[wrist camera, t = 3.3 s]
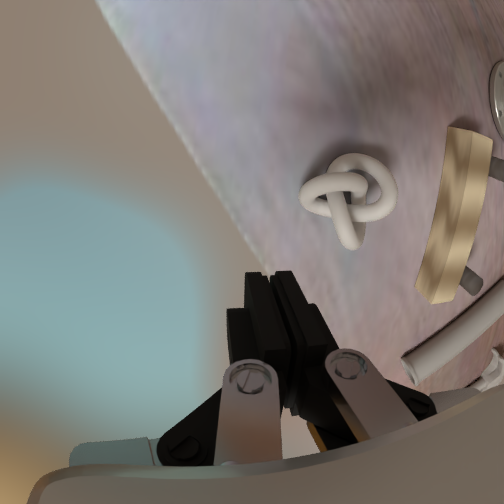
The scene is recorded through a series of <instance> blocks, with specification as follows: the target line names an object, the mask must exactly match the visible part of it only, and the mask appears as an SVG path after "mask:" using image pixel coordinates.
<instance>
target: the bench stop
mask: <svg viewBox="0 0 504 504" xmlns="http://www.w3.org/2000/svg"><path fill="white" fill-rule="evenodd" d="M492 144H493V140H492V139H490V138H488V137H485V136H483V135H481V134H478V133H476V132H474V131H469V130H465V129H459V128H454V127H448V130H447V141H446V149H445V157H444V165H443V172H442V178H441V184H440V189H439V195H438V200H437V205H436V210H435V214H434V219H433V223H432V227H431V231H430V235H429V239H428V243H427V247H426V251H425V254H424V258H423V261H422V265H421V268H420V271H419V274H418V278H417V281H416V284H415V288H416V289H417V290H418V291H419V292H420V293H421V294H422V295H423V296H424V297H425V298H426V299H427V300H428V301H429V302H430V303H431V304H437V303H443V302H448V301H453V298H454V296H455V293H456V291H457V288H458V286H459V284H460V285H461V286H462V287H463V288H464V289H465V290H466V291H467V292H469V293H470V294H471V295H472V296H475V295H476V294H477V293H478V292H479V291H480V290H481V288H482V286H483V279H482V278H481V277H479V276H478V275H477V274H476V273H474V272H473V271H472V270H471V269H469V268H468V267H467V266H466V263H467V260H468V257H469V254H470V251H471V247H472V244H473V241H474V237H475V233H476V230H477V226H478V222H479V218H480V214H481V210H482V205H483V201H484V196H485V191H486V186H487V180H488V176H490V177H493V178H495V179H498V180H500V181H502V182H504V160H502V159H499V158H496V157H493V156H491V153H492Z"/></svg>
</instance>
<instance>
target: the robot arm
mask: <svg viewBox="0 0 504 504" xmlns="http://www.w3.org/2000/svg"><path fill="white" fill-rule="evenodd" d="M490 103H491V109H492V114H493V118H494V122H495V124H496V127H497V130H498V132H499V134H500V136H501V137H502V139H503V141H504V61H500V62H498V63H497V64H496V65H495V66H494V68H493V70H492V73H491V77H490ZM244 293H245V294H244V308H230V309H227V340H228V350H229V360H230V366H229V367H228V368H227V370H226V371H225V374H224V376H223V385H222V388H221V389H220V390H218V391H217V392H216V393H215V394H213V395H212V396H211V397H210V398H209V399H207V400H206V401H205V402H204V403H203V404H201V405H200V406H199V407H198V408H196V409H195V410H194V411H193V412H191V413H190V414H189V415H188V416H186V417H185V418H184V419H183V420H181V421H180V422H179V423H177V424H176V425H175V426H174V427H172V428H171V429H170V430H168V431H167V432H166V433H165V434H164V435H163V436H162V437H161V438H157V439H151V440H149V439H148V438H147V437H143V438H135V439H127V440H116V441H103V442H87V443H82V444H80V445H78V446H76V447H75V448H74V449H73V451H72V452H71V454H70V458H69V467H67V468H62V469H58V470H55V471H52V472H50V473H48V474H46V475H44V476H42V477H41V478H40V479H39V480H38V481H37V482H36V484H35V485H34V487H33V489H32V491H31V493H30V496H29V499H28V502H27V504H504V384H502V385H498V386H495V387H492V388H489V389H487V390H485V391H483V392H481V391H479V390H478V389H476V388H473V387H467V388H462V389H456V390H450V391H444V392H437V393H430V395H429V396H427V395H425V394H423V393H421V392H419V391H416V390H413V389H411V388H408V387H405V386H403V385H400V384H397V383H395V382H392V381H390V380H387V379H385V378H384V377H383V376H382V375H381V373H380V372H379V371H378V370H377V368H376V367H375V366H374V365H373V364H372V362H371V361H370V360H369V359H368V358H367V357H366V356H365V355H364V354H362V353H361V352H359V351H356V350H353V349H345V348H344V349H339V347H338V345H337V343H336V341H335V339H334V337H333V336H332V334H331V332H330V330H329V328H328V326H327V324H326V322H325V320H324V318H323V317H322V315H321V313H320V311H319V309H318V307H317V306H316V304H314V303H312V304H308V302H307V300H306V298H305V296H304V294H303V292H302V290H301V288H300V286H299V284H298V283H297V281H296V279H295V277H294V275H293V273H292V271H276V272H275V275H271V276H270V283H269V280H268V278H267V276H262V274H261V272H246V273H245V292H244ZM283 405H284V407H285V408H290V412H291V415H292V416H296V415H299V416H300V417H301V418H303V419H305V420H306V421H307V427H308V429H309V431H310V433H311V435H312V437H313V439H314V441H315V443H316V445H317V447H318V449H319V450H320V453H316V454H311V455H306V456H300V457H295V458H289V459H283V457H282V438H281V420H280V419H281V414H282V410H283Z"/></svg>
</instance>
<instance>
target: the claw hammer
mask: <svg viewBox="0 0 504 504" xmlns="http://www.w3.org/2000/svg"><path fill="white" fill-rule="evenodd" d="M491 351H492V352H493V354H494V355H493V359H492V361H491V363H490V364H489V366H488V367H487V368H486V369H485V370H484V371H483V372H482V374H481V376H480V379H479V380H478V381H477V382H475V383H474V384H472V385H471V386H469V387H473V388H476V389H478V390H479V391H481V392H483V391H485V390H487V389H489V388H492V387H495V386H497V385H498V384H499V383H500V382H501V380H502V378H503V376H504V359H503V358H502V357H501V356H500V355H499V353H498V351H497V350H496V349H495V348H492V349H491Z"/></svg>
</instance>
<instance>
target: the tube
mask: <svg viewBox="0 0 504 504" xmlns="http://www.w3.org/2000/svg"><path fill="white" fill-rule="evenodd" d="M503 314H504V280H500V281H499V282H498V283H497V284H496V285H495V286H494V287H493V288H492V289H491V290H490V291H488V292H487V293H486V294H485V295H484V296H483V297H482V298H481V299H480V300H478V301H477V302H476V303H475V304H474V305H473V306H472V307H470V308H469V309H468V310H467V311H466V312H464V313H463V314H462V315H461V316H460V317H458V318H457V319H456V320H455V321H453V322H452V323H451V324H450V325H448V326H447V327H446V328H444V329H443V330H442V331H440V332H439V333H438V334H436V335H435V336H434V337H432V338H431V339H430V340H428V341H427V342H425V343H424V344H422V345H421V346H420V347H418V348H417V349H415V350H414V351H412V352H411V353H409V354H408V355H406V356H405V357H402V358H401V362H402V365H403V368H404V370H405V372H406V374H407V375H408V377H409V379H410V380H411V382H412V383H413V384H414V385H415V386H418V385H419V383H420V382H421V381H422V380H424V379H425V378H427V377H428V376H430V375H431V374H432V373H434V372H435V371H437V370H438V369H439V368H441V367H442V366H443V365H445V364H446V363H447V362H449V361H450V360H451V359H453V358H454V357H455V356H456V355H458V354H459V353H460V352H461V351H463V350H464V349H465V348H466V347H467V346H469V345H470V344H471V343H472V342H473V341H474V340H476V339H477V338H478V337H479V336H480V335H481V334H482V333H484V332H485V331H486V330H487V329H488V328H489V327H490V326H491V325H492V324H493V323H494V322H495V321H496V320H497V319H498V318H499V317H501V316H502V315H503Z"/></svg>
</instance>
